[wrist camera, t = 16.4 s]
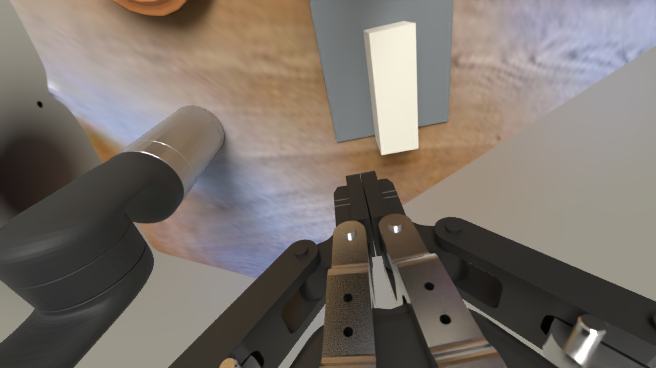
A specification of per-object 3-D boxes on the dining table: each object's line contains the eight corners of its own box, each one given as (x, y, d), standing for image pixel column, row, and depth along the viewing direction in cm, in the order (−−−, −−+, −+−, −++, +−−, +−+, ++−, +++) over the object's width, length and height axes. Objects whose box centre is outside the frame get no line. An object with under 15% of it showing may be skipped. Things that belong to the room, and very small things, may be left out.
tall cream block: (381, 155, 45) (369, 33, 36) (375, 140, 50) (363, 30, 41) (418, 148, 45) (415, 23, 35) (408, 134, 50) (403, 20, 40)
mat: (336, 141, 51) (337, 142, 50) (309, 1, 39) (309, 1, 39) (447, 120, 49) (448, 121, 48) (453, -34, 37) (454, -35, 37)
